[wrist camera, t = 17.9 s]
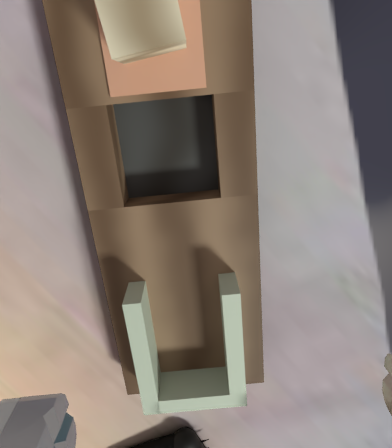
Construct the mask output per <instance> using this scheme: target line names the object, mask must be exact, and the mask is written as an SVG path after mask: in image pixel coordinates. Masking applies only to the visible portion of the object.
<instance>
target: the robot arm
mask: <svg viewBox="0 0 392 448" xmlns="http://www.w3.org/2000/svg"><path fill="white" fill-rule="evenodd" d="M384 367H385V368H386V369H387V371H388V372H389V374H388V375H387V376H386V377H385V378H384V379H383V387H382V391H383V396H384V400H385V403H386V405H387V408H388V410H389V412H390V413H391V415H392V353H389V354H387V356H386V357H385V363H384ZM68 405H69V403H68V401H67V398H66V395H65V394H61V393H60V394H50V395H39V396H29V397H22V398H12V399H3V400H2V401H0V448H75V445H76V425H75V422H74V418H73V417H72V416H71V415H69V414H68V413H66V411H67V408H68Z"/></svg>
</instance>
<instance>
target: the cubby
mask: <svg viewBox="0 0 392 448" xmlns="http://www.w3.org/2000/svg"><path fill="white" fill-rule="evenodd" d="M218 278H219V290H220V303H221V315H222V327H223V339H224V352H225V364H226V366H225V367H215V368H204V369H193V370H182V371H171V372H161V370H160V364H159V358H158V352H157V346H156V340H155V334H154V328H153V322H152V316H151V310H150V304H149V298H148V293H147V287H146V281H138V282H129V284H128V287H127V290H126V293H125V297H124V300H123V303H122V307H123V312H124V317H125V322H126V327H127V332H128V337H129V342H130V347H131V352H132V357H133V362H134V367H135V372H136V377H137V382H138V387H139V392H140V397H141V402H142V407H143V412H144V415H151V414H162V413H173V412H184V411H195V410H206V409H217V408H228V407H239V406H247V398H246V381H245V363H244V346H243V328H242V311H241V294H240V290H239V286H238V282H237V278H236V274H235V272H233V273H223V274H218Z"/></svg>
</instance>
